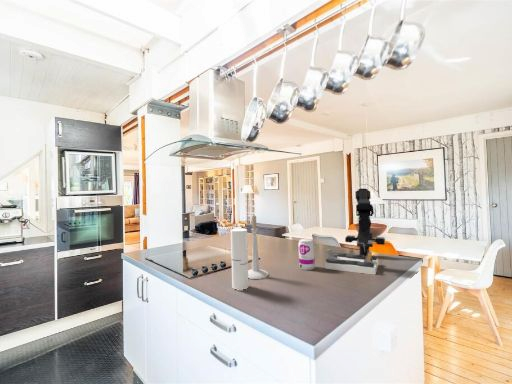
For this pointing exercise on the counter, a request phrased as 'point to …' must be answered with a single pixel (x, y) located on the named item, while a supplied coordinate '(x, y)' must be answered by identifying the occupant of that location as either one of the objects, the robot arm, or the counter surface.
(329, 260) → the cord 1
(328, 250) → the paddle grey
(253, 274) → the candlestick
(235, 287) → the cylindrical container
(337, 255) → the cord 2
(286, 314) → the counter surface
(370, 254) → the orange brick
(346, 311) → the counter surface
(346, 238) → the robot arm
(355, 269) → the white tray
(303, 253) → the supplement can
